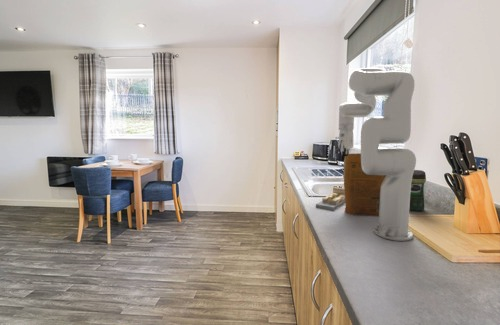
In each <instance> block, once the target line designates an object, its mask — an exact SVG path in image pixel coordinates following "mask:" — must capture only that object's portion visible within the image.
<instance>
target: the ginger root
mask: <svg viewBox="0 0 500 325" xmlns="http://www.w3.org/2000/svg"><path fill="white" fill-rule="evenodd" d="M333 193H336V194H338V195H337V196H336V198H334V195H333ZM328 196H333V198H332V202H331V204H337V203H339V202H341V201H342V200H344V199H345V192H344V187H343V188H342V187H335V186H334V187H332V192H331V193H330V194H329V195H326V196H325V197H323V198H322V199H321V201H322V202H326V203H327V202H329V198H328Z"/></svg>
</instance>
